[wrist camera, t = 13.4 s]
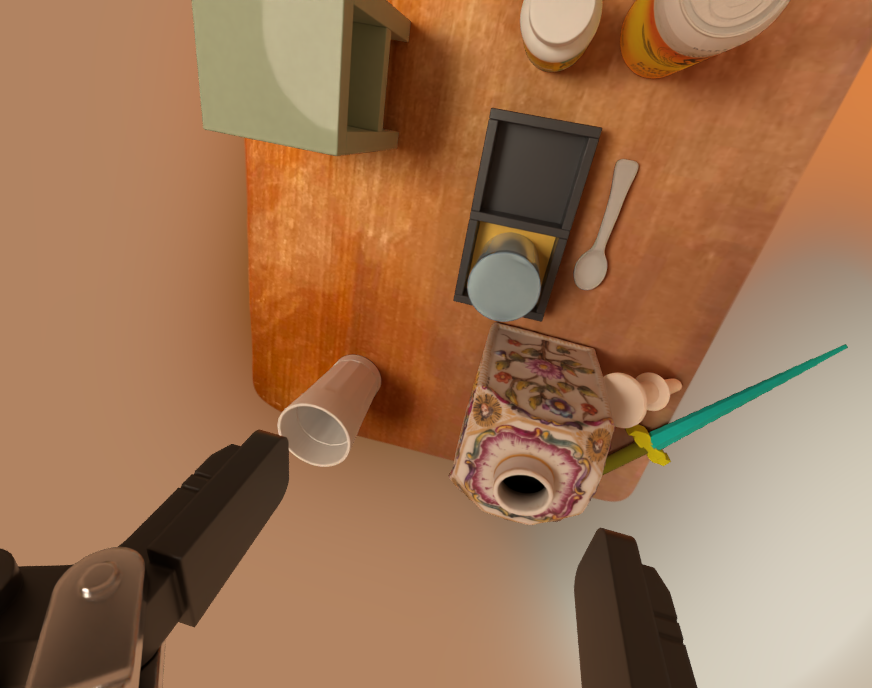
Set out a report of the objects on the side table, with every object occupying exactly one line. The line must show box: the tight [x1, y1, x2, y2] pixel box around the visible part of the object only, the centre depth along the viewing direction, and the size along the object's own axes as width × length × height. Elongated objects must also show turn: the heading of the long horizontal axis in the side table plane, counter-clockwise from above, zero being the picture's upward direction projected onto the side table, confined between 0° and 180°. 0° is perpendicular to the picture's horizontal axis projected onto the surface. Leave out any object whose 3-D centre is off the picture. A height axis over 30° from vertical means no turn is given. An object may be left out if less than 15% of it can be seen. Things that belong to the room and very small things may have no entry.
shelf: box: [192, 0, 411, 156], centre depth 33 cm, size 10×10×14 cm
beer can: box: [620, 0, 790, 78], centre depth 26 cm, size 6×6×15 cm
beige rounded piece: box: [603, 372, 682, 428], centre depth 42 cm, size 5×5×10 cm
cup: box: [278, 355, 381, 467], centre depth 48 cm, size 8×8×12 cm
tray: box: [453, 108, 602, 322], centre depth 40 cm, size 17×9×3 cm, turn 171°
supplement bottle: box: [520, 0, 602, 72], centre depth 30 cm, size 5×5×10 cm
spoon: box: [573, 159, 639, 290], centre depth 39 cm, size 3×12×2 cm, turn 170°
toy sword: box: [602, 344, 848, 475], centre depth 46 cm, size 3×6×30 cm
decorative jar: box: [449, 322, 615, 525], centre depth 40 cm, size 12×12×18 cm
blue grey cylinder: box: [467, 232, 541, 322], centre depth 39 cm, size 6×6×8 cm
